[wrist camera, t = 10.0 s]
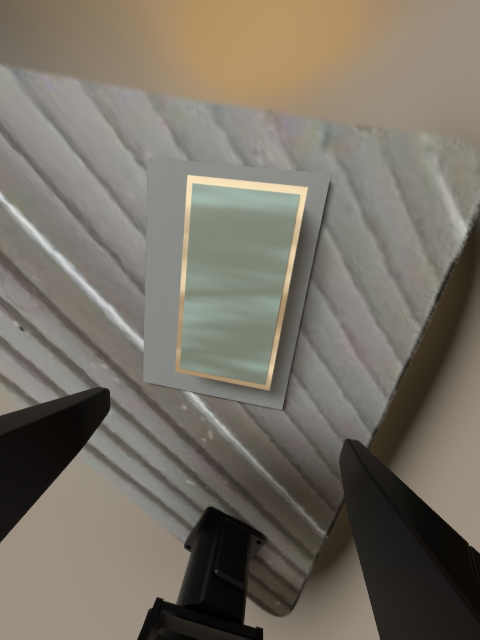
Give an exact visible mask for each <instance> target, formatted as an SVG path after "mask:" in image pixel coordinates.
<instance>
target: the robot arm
mask: <svg viewBox="0 0 480 640" xmlns="http://www.w3.org/2000/svg"><path fill="white" fill-rule="evenodd" d="M109 410H110V391H109V389H107V388H102V387H96V388H93V389H89V390H86V391H83V392H79V393H76V394H72V395H69V396H66V397H62V398H59V399H55V400H52V401H49V402H45V403H42V404H39V405H35V406H32V407H28V408H25V409H22V410H18V411H15V412H12V413H8V414H5V415H1V416H0V542H1V541H2V540H3V539H4V538H5V537H6V536H7V534H8V533H9V532H10V531H11V530H12V529H13V528H14V526H15V525H16V524H17V523H18V522H19V521H20V520H21V518H22V517H23V516H24V515H25V514H26V513H27V511H28V510H29V509H30V508H31V507H32V506H33V505H34V503H35V502H36V501H37V500H38V499H39V498H40V496H41V495H42V494H43V493H44V492H45V491H46V490H47V489H48V487H49V486H50V485H51V484H52V483H53V482H54V480H55V479H56V478H57V477H58V476H59V475H60V474H61V472H62V471H63V470H64V469H65V468H66V467H67V466H68V464H69V463H70V462H71V461H72V460H73V459H74V457H75V456H76V455H77V454H78V453H79V452H80V450H81V449H82V448H83V447H84V445H85V444H86V443H87V441H88V440H89V439H90V437H91V436H92V435H93V433H94V432H95V430H96V429H97V428H98V426H99V425H100V424H101V422H102V421H103V420H104V418H105V417H106V415H107V414H108V412H109ZM339 463H340V470H341V476H342V483H343V489H344V495H345V501H346V507H347V512H348V517H349V521H350V525H351V529H352V532H353V536H354V540H355V544H356V548H357V552H358V556H359V560H360V564H361V567H362V571H363V575H364V579H365V582H366V587H367V590H368V594H369V598H370V602H371V606H372V610H373V613H374V617H375V621H376V625H377V629H378V632H379V636H380V640H480V553H479V552H477V551H476V550H475V549H474V548H473V547H472V546H469V544H468V543H467V541H465V539H463V538H462V537H461V536H460V535H459V534H458V533H457V532H456V531H455V530H454V529H453V528H452V527H451V526H450V525H448V524H447V523H446V522H445V521H444V520H443V519H442V518H441V517H440V516H439V515H438V514H437V513H436V512H435V511H433V510H432V509H431V508H430V507H429V506H428V505H427V504H426V503H425V502H424V501H423V500H422V499H421V498H419V497H418V496H417V495H416V494H415V493H414V492H413V491H412V490H411V489H410V488H409V487H408V486H407V485H406V484H405V483H403V482H402V481H401V480H400V479H399V478H398V477H397V476H396V475H395V474H394V473H393V472H392V471H391V470H390V469H388V468H387V467H386V466H385V465H384V464H383V463H382V462H381V461H380V460H379V459H378V458H377V457H376V456H374V455H373V454H372V453H371V452H370V451H369V450H368V449H367V448H366V447H365V446H364V445H363V444H362V443H361V442H359V441H358V440H353V439H346V440H345V441H344V444H343V448H342V451H341V455H340V459H339ZM263 545H264V536H263V535H261V534H260V533H258V532H256V531H254V530H252V529H250V528H249V527H247V526H245V525H243V524H241V523H239V522H237V521H236V520H234V519H232V518H230V517H228V516H226V515H224V514H223V513H221V512H219V511H217V510H215V509H213V508H211V507H208V508H207V509H206V510H205V511H204V513H203V515H202V516H201V518H200V519H199V521H198V522H197V524H196V525H195V527H194V528H193V530H192V532H191V533H190V535H189V536H188V538H187V539H186V541H185V544H184V548H185V549H186V550H188V551H190V552H191V554H190V558H189V562H188V565H187V568H186V572H185V576H184V579H183V582H182V585H181V589H180V592H179V596H178V599H177V603H176V604H173V603H169V602H166V601H163V599H162V598H159V597H157V598H156V601H155V603H154V605H153V608H151V609H149V611H148V613H147V616H146V619H145V622H144V624H143V627H142V630H141V632H140V634H139V637H138V639H137V640H263V628H260V627H256V628H253V627H250V626H247V625H244V618H245V606H246V595H247V583H248V572H249V562H250V561H251V559H252V558H253V557H254V556H255V554H256V553H257V552H258V551H259V550H260V548H261V547H262V546H263Z"/></svg>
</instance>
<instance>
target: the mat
mask: <svg viewBox="0 0 480 640" xmlns="http://www.w3.org/2000/svg"><path fill="white" fill-rule="evenodd" d="M187 175H193V176H203V177H213V178H223V179H233V180H242V181H252V182H262V183H272V184H282V185H292V186H302V187H308V190H307V195H306V201H305V206H304V211H303V216H302V222H301V227H300V232H299V238H298V243H297V248H296V253H295V259H294V264H293V269H292V275H291V280H290V285H289V290H288V296H287V301H286V306H285V311H284V317H283V322H282V327H281V333H280V338H279V343H278V348H277V354H276V359H275V364H274V370H273V375H272V380H271V385H270V391H269V390H264V389H259V388H254V387H249V386H244V385H239V384H234V383H229V382H224V381H219V380H214V379H209V378H204V377H199V376H194V375H189V374H184V373H179V372H175V365H176V349H177V333H178V317H179V301H180V285H181V270H182V254H183V238H184V222H185V206H186V190H187ZM330 176H331V174H326V173H315V172H304V171H293V170H282V169H271V168H260V167H249V166H238V165H227V164H216V163H205V162H194V161H182V160H171V159H160V158H149V157H148V167H147V219H146V272H145V324H144V376H143V382H147V383H152V384H157V385H162V386H167V387H172V388H177V389H182V390H186V391H191V392H196V393H201V394H206V395H211V396H216V397H221V398H226V399H230V400H235V401H240V402H245V403H250V404H255V405H260V406H265V407H270V408H275V409H279V410H282V408H283V403H284V398H285V394H286V389H287V384H288V379H289V374H290V369H291V365H292V360H293V355H294V350H295V345H296V340H297V336H298V331H299V326H300V321H301V316H302V312H303V307H304V302H305V297H306V292H307V287H308V283H309V278H310V273H311V268H312V263H313V258H314V254H315V249H316V244H317V239H318V234H319V229H320V225H321V220H322V215H323V210H324V205H325V200H326V196H327V191H328V186H329V181H330Z"/></svg>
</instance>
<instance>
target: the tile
mask: <svg viewBox="0 0 480 640" xmlns="http://www.w3.org/2000/svg"><path fill="white" fill-rule="evenodd" d="M307 190H308V187H302V186H292V185H282V184H272V183H262V182H252V181H242V180H233V179H223V178H213V177H203V176H193V175H187V190H186V206H185V222H184V238H183V254H182V270H181V285H180V301H179V317H178V333H177V349H176V365H175V372H179V373H184V374H189V375H194V376H199V377H204V378H209V379H214V380H219V381H224V382H229V383H234V384H239V385H244V386H249V387H254V388H259V389H264V390H269V391H270V385H271V380H272V375H273V370H274V364H275V359H276V354H277V348H278V343H279V338H280V333H281V327H282V322H283V317H284V311H285V306H286V301H287V296H288V290H289V285H290V280H291V275H292V269H293V264H294V259H295V253H296V248H297V243H298V238H299V232H300V227H301V222H302V216H303V211H304V206H305V201H306V195H307Z"/></svg>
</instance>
